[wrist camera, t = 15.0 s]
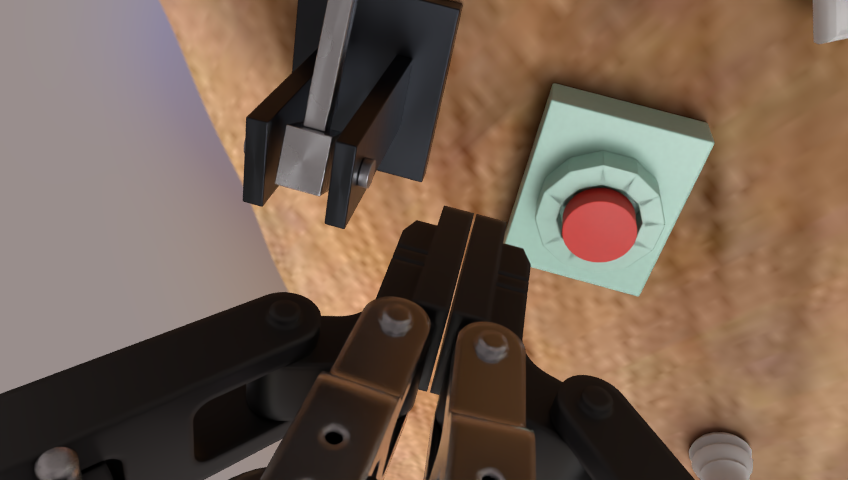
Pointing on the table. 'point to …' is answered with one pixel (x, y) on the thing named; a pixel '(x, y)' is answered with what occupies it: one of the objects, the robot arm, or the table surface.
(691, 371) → the table surface
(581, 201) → the button
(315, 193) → the lever
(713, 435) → the rook chess piece
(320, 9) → the bracket
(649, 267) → the button box
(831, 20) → the stamp
